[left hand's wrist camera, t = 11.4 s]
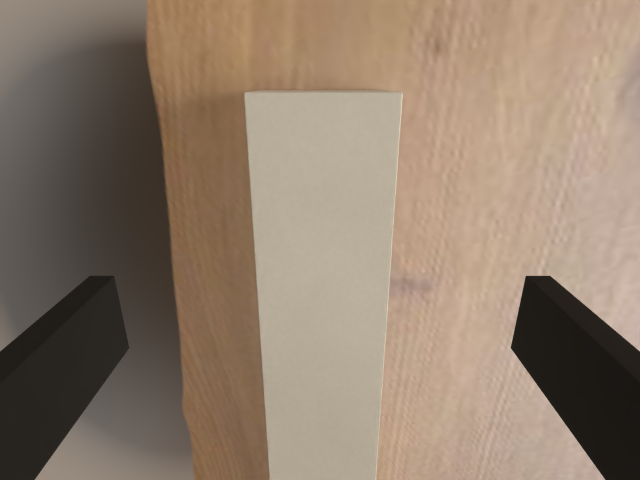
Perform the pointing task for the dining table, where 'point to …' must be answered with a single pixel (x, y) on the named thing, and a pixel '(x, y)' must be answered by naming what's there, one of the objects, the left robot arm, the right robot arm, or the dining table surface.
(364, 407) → the beam
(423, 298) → the dining table surface
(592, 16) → the dining table surface
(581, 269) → the dining table surface
